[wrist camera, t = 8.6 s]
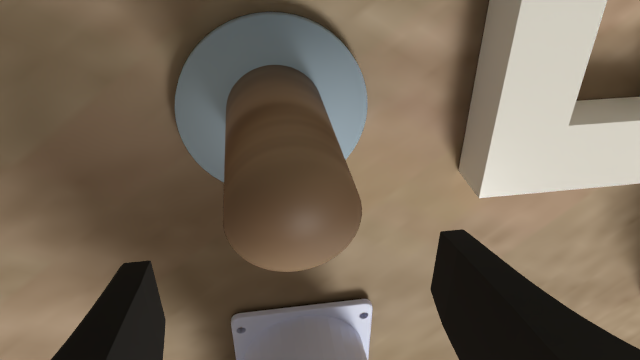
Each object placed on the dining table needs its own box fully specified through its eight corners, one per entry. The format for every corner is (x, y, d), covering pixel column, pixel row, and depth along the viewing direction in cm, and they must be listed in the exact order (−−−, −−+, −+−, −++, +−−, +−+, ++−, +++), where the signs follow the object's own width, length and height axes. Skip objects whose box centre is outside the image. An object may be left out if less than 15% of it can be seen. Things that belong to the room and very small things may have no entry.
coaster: (360, 179, 23) (362, 185, 23) (190, 193, 22) (190, 200, 22) (369, 8, 19) (372, 11, 19) (159, 15, 18) (157, 19, 17)
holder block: (674, 152, 26) (711, 176, 24) (458, 170, 24) (479, 197, 22) (794, -113, 19) (861, -111, 17) (509, -111, 17) (545, -109, 15)
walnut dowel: (321, 150, 21) (357, 265, 15) (230, 155, 21) (229, 277, 15) (323, 63, 19) (366, 155, 13) (221, 66, 19) (216, 164, 13)
